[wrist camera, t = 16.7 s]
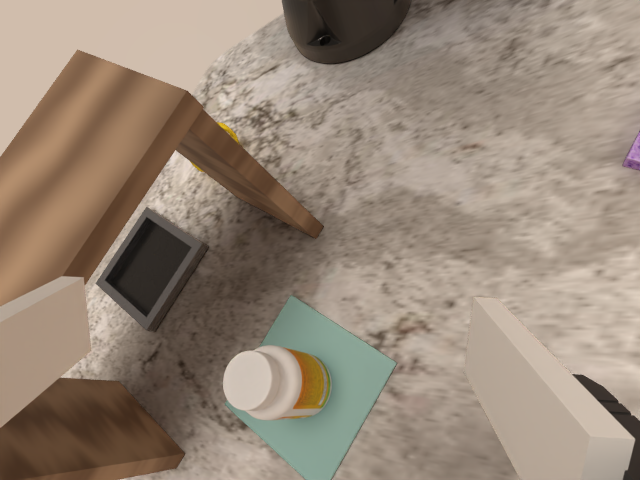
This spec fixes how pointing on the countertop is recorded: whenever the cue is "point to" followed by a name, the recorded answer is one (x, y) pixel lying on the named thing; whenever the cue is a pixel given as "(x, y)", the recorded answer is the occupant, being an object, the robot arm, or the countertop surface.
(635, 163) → the sponges
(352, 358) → the pad
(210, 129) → the tunnel
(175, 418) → the countertop surface
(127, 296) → the tray
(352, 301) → the countertop surface
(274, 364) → the supplement bottle
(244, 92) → the countertop surface
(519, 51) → the countertop surface
